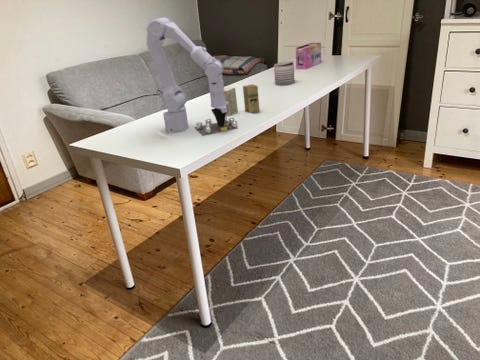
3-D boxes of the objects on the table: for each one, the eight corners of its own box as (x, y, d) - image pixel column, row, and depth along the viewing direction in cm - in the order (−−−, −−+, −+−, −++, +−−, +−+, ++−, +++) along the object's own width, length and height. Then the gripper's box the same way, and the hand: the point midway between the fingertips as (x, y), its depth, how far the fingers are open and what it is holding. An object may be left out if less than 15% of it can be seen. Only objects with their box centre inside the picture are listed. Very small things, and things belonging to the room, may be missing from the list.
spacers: (203, 135, 154) (202, 129, 152) (195, 127, 164) (194, 121, 163) (239, 127, 158) (239, 121, 157) (229, 120, 168) (229, 114, 167)
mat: (202, 137, 154) (202, 135, 153) (194, 129, 165) (194, 127, 164) (238, 130, 158) (238, 128, 158) (227, 122, 169) (227, 120, 169)
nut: (223, 132, 155) (222, 128, 154) (216, 129, 158) (216, 126, 158) (231, 129, 157) (230, 125, 156) (224, 127, 160) (224, 123, 160)
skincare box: (231, 113, 181) (228, 86, 176) (238, 114, 179) (235, 87, 174) (222, 116, 177) (218, 90, 172) (229, 118, 175) (226, 90, 169)
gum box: (305, 69, 257) (304, 48, 251) (294, 69, 262) (293, 48, 256) (321, 62, 274) (321, 42, 268) (311, 62, 279) (310, 42, 273)
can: (285, 86, 219) (284, 64, 214) (270, 84, 227) (269, 63, 222) (298, 82, 225) (298, 61, 220) (284, 80, 233) (283, 60, 228)
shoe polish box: (245, 112, 180) (242, 86, 175) (254, 110, 182) (252, 84, 177) (249, 114, 176) (247, 88, 171) (259, 112, 178) (257, 86, 173)
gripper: (233, 94, 149) (236, 128, 155) (220, 87, 161) (224, 119, 167) (215, 97, 147) (219, 132, 153) (204, 90, 159) (208, 122, 165)
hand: (221, 125), depth 160 cm, fingers closed
